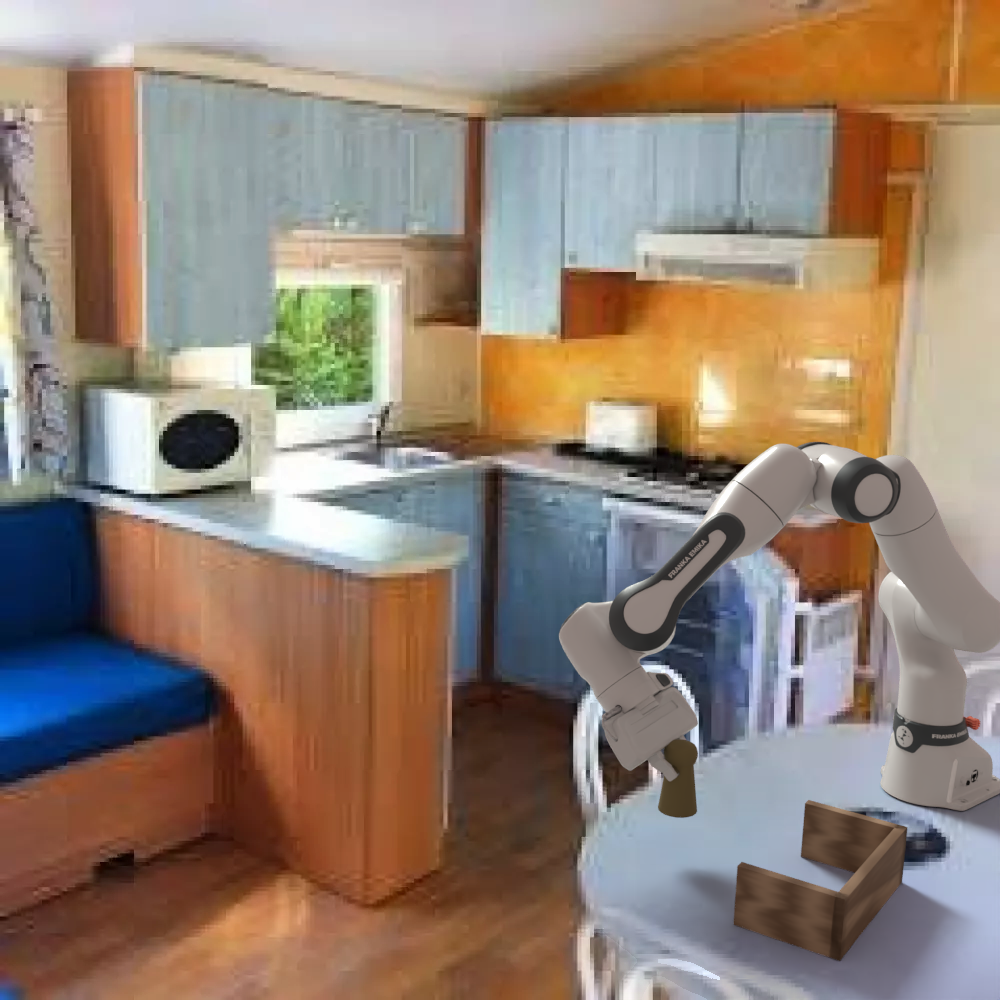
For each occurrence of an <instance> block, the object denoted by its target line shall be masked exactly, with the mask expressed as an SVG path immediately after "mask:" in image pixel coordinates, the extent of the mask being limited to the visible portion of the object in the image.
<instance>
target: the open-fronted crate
mask: <svg viewBox="0 0 1000 1000" xmlns="http://www.w3.org/2000/svg"><path fill="white" fill-rule="evenodd" d="M802 825H803V826H802V836H801V837H802V838H801V847H800V849H801V850H800V851H801V852H800V857H801V858H805V859H807V860H808V859H809V860H811V861H813V862H814V861H815V862H819V863H821V864H825V865H828V866H831V867H834V868H837V869H840V870H844V871H848V872H851V873H853V874H852V876H851V877H850V878H849V879H848V880H847V882H846V883H845V884H844V885H843V886H842V887H841V888H840V889H839V891H838V890H835V889H834V890H833V889H831V888H827V887H824V886H821V885H818V884H815V883H810V882H808V881H804V880H801V879H799V878H795V877H792V876H789V875H785V874H782V873H779V872H777V871H773V870H769V869H766V868H764V867H761V866H756V865H753V864H750V863H747V862H744V861H741V862H740V863H739V864H737V867H736V868H737V869H736V881H735V883H736V884H735V898H734V908H733V925H734V926H736V927H739V928H742V929H745V930H748V931H751V932H754V933H757V934H759V935H762V936H764V937H765V936H766V937H769V938H771V939H774V940H777V941H780V942H783V943H786V944H789V945H792V946H795V947H797V948H799V949H800V948H801V949H803V950H806V951H809V952H812V953H815V954H818V955H821V956H824V957H827V958H830V959H832V960H835V961H838V962H841V961H842V959H843V958H844V957H845V956H846V954H847V953H848V952H849V951H850V949H851V948H852V947H851V946H853V945H854V944H855V943H856V942H857V940H858V939H859V938H860V936H861V935H862V934H863V933H864V932H865V930H866V929H867V927H868V926H869V925H870V924H871V923H872V921H873V920H874V919H875V917H876V916H878V914H879V912H880V911H881V910H882V908H883V907H884V906H885V905H886V903H887V902H888V901H889V900H890V899H891V897H892V896H893V895H894V893H895V892H896V891H897V889H898V888H899V887H900V886H901V884H902V883H903V876H904V867H905V866H904V865H905V856H906V855H905V854H906V847H907V846H906V845H907V835H908V826H906V825H901V824H897V823H893V822H890V821H886V820H884V819H879V818H875V817H872V816H869V815H865V814H861V813H858V812H853V811H850V810H846V809H843V808H840V807H835V806H832V805H828V804H825V803H822V802H819V801H814V800H811V799H808V800H807V801H806V802H805V803H804V813H803V823H802Z"/></svg>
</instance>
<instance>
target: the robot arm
mask: <svg viewBox="0 0 1000 1000" xmlns="http://www.w3.org/2000/svg"><path fill="white" fill-rule="evenodd" d="M736 474H737V475H735V476H734V477H733V478H732V479H731V481H729V483H728V484H727V485H726V486H725V487H724V488H723V489H722V491H721V492H719V494H718V496H716V498H715V500H714V501H713V502H712V503H711V506H709V508H708V510H707V511H706V513H705V515H704V516H703V518H702V520H701V522H700V524H699V525H698V527H697V528H696V530H695V531H694V533H693V534H692V536H691V537H689V539H688V540H687V541H686V542H685V543H683V545H681V547H680V548H679V549H678V550H677V551H676V552H675V553H674V554H673V555H672V556H671V557H670V558H669V559H668V560H667V562H665V563H664V564H663V565H662V566H661V567H660V568H659V569H658V571H656V572H655V573H654V574H653V575H651V576H650V577H648V578H646V579H644V580H642V581H638V582H636V583H634V584H632V585H629V586H627V587H626V588H624V589H623V590H621V591H620V592H619V593H618V594H617V595H616V596H615V597H614V599H613V600H611V601H604V602H590V601H588V602H585V603H582V604H581V605H579V606H577V608H575V609H574V610H573V611H572V612H571V613H570V614H569V615H568V616H567V618H565V620H564V622H563V623H562V624H561V625H560V628H559V631H558V632H559V633H558V639H559V642H560V645H561V647H562V649H563V651H564V653H565V655H566V657H567V658H568V660H569V661H570V663H571V664H572V666H573V668H574V669H575V671H576V672H577V673H578V675H580V677H581V678H582V680H584V681H586V683H588V685H589V686H590V688H591V690H592V692H593V695H594V697H595V699H596V700H597V702H598V703H599V704H600V706H601V708H602V709H603V710H604V713H603V714H602V716H601V727H602V729H603V730H604V735H605V738H606V740H607V742H608V744H609V746H610V749H612V752H613V754H614V755H615V757H616V758H617V760H618V762H619V764H620V765H621V766H622V767H623V768H624V769H626V770H628V771H629V772H630V771H633V770H634V769H635V768H637V767H638V766H640V765H641V764H643V763H644V762H646V761H648V763H649V765H650V766H651V767H653V769H655V770H657V771H658V772H660V773H661V774H662V775H663V777H664V776H665V777H666V779H667V780H668V781H672V780H673V779H675V778H676V777H678V776H679V775H680V771H679V770H678V769H677V767H676V766H674V765H671V764H670V763H668V762H667V761H666V760H665V756H664V752H662V750H664V748H665V747H666V746H667V745H668V744H669V743H670V742H671V741H673V740H677V739H682V740H687V739H686V737H685V735H686V734H688V733H689V732H690V731H692V730H693V729H695V728H696V727H697V726H698V725H699V720H698V718H697V715H696V713H695V711H694V710H693V708H692V707H691V705H690V704H689V702H688V701H687V700H686V698H685V697H684V696H683V694H682V693H681V692H680V690H678V689H677V688H676V687H673V686H672V685H673V684H674V680H673V679H672V677H671V675H670V674H668V673H667V672H654V671H653V672H652V671H646V670H645V669H644V667H643V666H642V664H641V663H640V662H641V659H644V658H646V657H649V656H650V655H653V654H657V653H659V652H661V651H663V650H664V649H666V648H667V647H668V646H669V645H670V644H671V643H672V640H673V639H674V637H675V635H676V628H677V622H678V618H679V616H680V613H681V611H682V609H683V607H685V604H686V603H687V602H688V601H689V600H690V599H691V598H692V596H694V595H695V593H696V592H697V591H698V590H699V589H701V587H703V585H705V583H706V582H707V581H708V580H709V579H710V578H711V577H712V576H713V574H715V573H716V572H717V571H718V570H719V569H720V568H722V567H723V566H724V565H727V563H729V562H731V561H733V560H736V559H739V558H744V557H748V556H751V555H753V554H755V553H756V552H757V551H759V550H760V549H761V548H763V547H764V546H765V545H766V544H767V543H769V542H770V541H771V540H773V539H774V537H775V536H777V535H778V533H780V531H781V530H783V528H784V527H785V526H786V525H787V524H788V522H789V521H791V519H792V518H793V516H795V514H796V513H797V512H798V511H800V510H801V509H802V508H804V507H806V506H810V507H812V508H814V509H815V510H817V511H819V512H822V513H824V514H825V515H831V516H834V517H837V518H841V519H843V520H844V521H847V522H848V523H849V522H850V523H854V524H868V523H869V527H870V528H871V532H872V534H873V536H874V539H875V540H876V541H875V542H876V544H877V545H878V548H879V550H880V552H881V553H880V554H881V556H882V557H883V559H884V562H885V564H886V566H887V568H888V569H889V570H890V571H889V572H888V573H887V575H885V577H884V578H883V580H882V582H881V583H880V586H879V589H878V597H877V598H878V604H879V606H880V609H881V610H882V612H883V613H884V615H885V617H886V618H887V620H888V622H889V624H890V627H891V631H892V633H893V637H894V640H895V641H894V642H895V646H896V652H897V656H898V664H899V666H898V667H899V683H898V694H897V695H898V697H897V707H895V709H894V714H893V716H892V717H893V718H892V731H893V732H891V735H890V738H889V743H888V748H887V753H886V757H885V763H884V765H881V768H880V775H882V777H881V779H880V787H881V788H882V789H883V791H885V792H886V793H887V794H888V795H890V796H892V797H894V798H897V799H898V800H901V801H904V802H907V803H910V804H914V805H919V806H926V807H933V808H934V807H935V808H936V807H937V808H945V809H951V810H954V811H961V812H962V811H963V812H964V811H967V810H969V809H971V808H974V807H976V806H977V805H979V804H981V803H983V802H985V801H987V800H989V799H991V798H993V797H995V796H997V795H999V794H1000V778H999V777H997V775H996V776H995V775H994V774H993V771H994V770H993V769H994V768H993V758H992V756H991V754H990V753H989V752H988V751H987V750H986V749H985V748H983V747H982V746H981V745H980V744H979V743H977V742H976V741H975V740H974V739H973V738H972V737H970V734H969V731H968V730H969V729H968V728H970V729H972V730H973V731H977V730H978V729H979V728H980V727H981V721H980V718H979V719H978V718H976V717H975V718H974V716H972V715H969V716H967V717H966V716H964V715H965V714H964V713H965V703H966V696H967V695H966V694H967V686H968V678H967V677H968V676H967V673H966V671H965V669H964V667H963V666H962V664H961V663H960V661H959V660H958V658H957V655H956V653H955V651H962V652H968V653H975V654H983V653H987V652H989V651H991V650H993V649H994V648H995V647H997V645H999V644H1000V601H999V600H998V599H996V598H995V597H994V596H993V595H992V594H991V593H990V592H989V591H988V590H987V589H986V588H985V587H984V586H983V584H982V583H981V582H980V580H979V579H978V578H977V577H976V576H975V574H974V573H973V571H972V570H971V568H969V566H968V565H967V563H966V562H965V560H964V559H963V557H962V556H961V555H960V553H959V552H958V551H957V549H956V547H955V546H954V544H953V542H952V540H951V537H950V536H949V534H948V532H947V531H948V530H947V529H946V526H945V523H944V522H943V520H942V517H941V515H940V511H939V510H938V507H937V504H936V502H935V500H934V498H933V496H932V493H931V491H930V489H929V487H928V485H927V483H926V482H925V479H924V478H923V476H922V475H921V473H920V472H919V470H918V469H917V468H916V466H915V465H914V463H913V462H912V461H911V460H910V459H909V458H907V457H904V455H903V456H902V455H898V454H887V455H882V456H880V457H876V458H875V457H869V456H867V455H865V454H863V453H862V452H858V451H856V450H854V449H851V448H848V447H842V446H838V445H833V444H831V443H828V442H825V441H824V442H823V441H812V442H811V441H810V442H806V443H802V444H800V445H798V446H794V445H792V444H789V443H777V444H774V445H772V446H769V448H767V449H766V450H765V451H763V452H762V453H760V454H759V455H758V456H757V457H756V458H754V459H753V460H751V462H749V463H748V464H747V465H746V466H744V467H743V469H741V470H740V471H739V472H738V473H736ZM696 763H697V761H696V762H695V763H694V765H696Z"/></svg>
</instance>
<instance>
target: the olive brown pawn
mask: <svg viewBox="0 0 1000 1000" xmlns="http://www.w3.org/2000/svg"><path fill="white" fill-rule="evenodd" d="M663 755H664V756H665V757H664V759H665V760H666V761H667V762H668V763H670V764H671V765H674V766H676V767H677V769H678V770H679V771H680V775H679V776H678V777H676V778H675V779H673V780H672V781H668V780H667V779H666V777H665V776H664V775H663V779H662V785H661V789H660V794H659V798H658V805H657V809H658V811H659V812H660V813H661V814H663V815H665V816H668V817H671V818H677V819H678V818H681V819H684V818H690V817H693V816H695V815H696V814H697V812H698V807H697V805H698V804H697V792H696V780H695V767H694V765H695V764H694V763H695V762H696V763H697V760H698V756H699V751H698V747H697V746H696V744H695V743H693V742H692V741H690V740H688V739H686V740H682V739H677V740H673V741H671V742H670V743H669V744H668V745H667V746H666V747H665V748H664V749H663Z"/></svg>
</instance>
